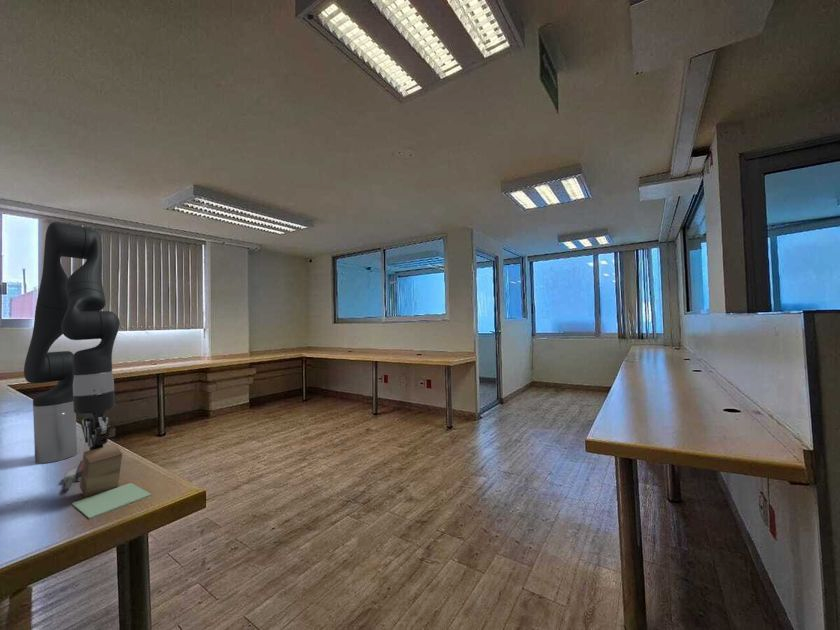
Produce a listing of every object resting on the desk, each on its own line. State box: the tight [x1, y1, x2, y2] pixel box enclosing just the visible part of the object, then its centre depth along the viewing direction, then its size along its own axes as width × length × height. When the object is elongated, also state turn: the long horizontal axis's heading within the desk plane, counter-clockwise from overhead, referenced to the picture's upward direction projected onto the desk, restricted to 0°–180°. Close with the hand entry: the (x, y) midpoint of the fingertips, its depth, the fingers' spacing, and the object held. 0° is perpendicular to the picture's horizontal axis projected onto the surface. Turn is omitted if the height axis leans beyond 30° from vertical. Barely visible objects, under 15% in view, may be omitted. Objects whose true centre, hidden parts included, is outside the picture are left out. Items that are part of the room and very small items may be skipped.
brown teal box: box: [79, 443, 123, 499], centre depth 85 cm, size 5×6×10 cm
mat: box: [71, 482, 152, 519], centre depth 82 cm, size 12×11×1 cm
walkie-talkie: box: [63, 459, 83, 492], centre depth 95 cm, size 9×4×20 cm
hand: (96, 460), depth 87 cm, fingers closed
